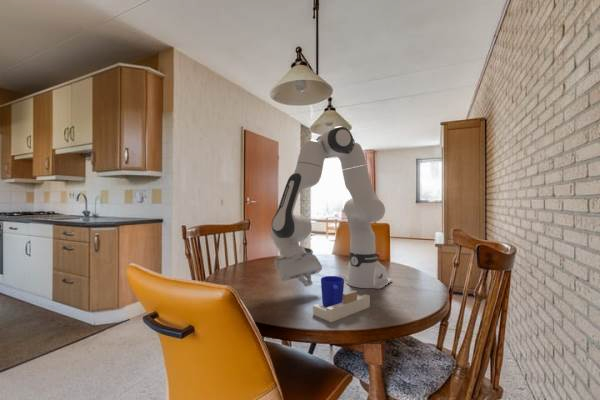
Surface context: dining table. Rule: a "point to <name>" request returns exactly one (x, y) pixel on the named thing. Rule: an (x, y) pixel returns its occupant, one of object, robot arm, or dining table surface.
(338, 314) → the beige blocky open frame
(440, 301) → the dining table surface
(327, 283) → the mug
